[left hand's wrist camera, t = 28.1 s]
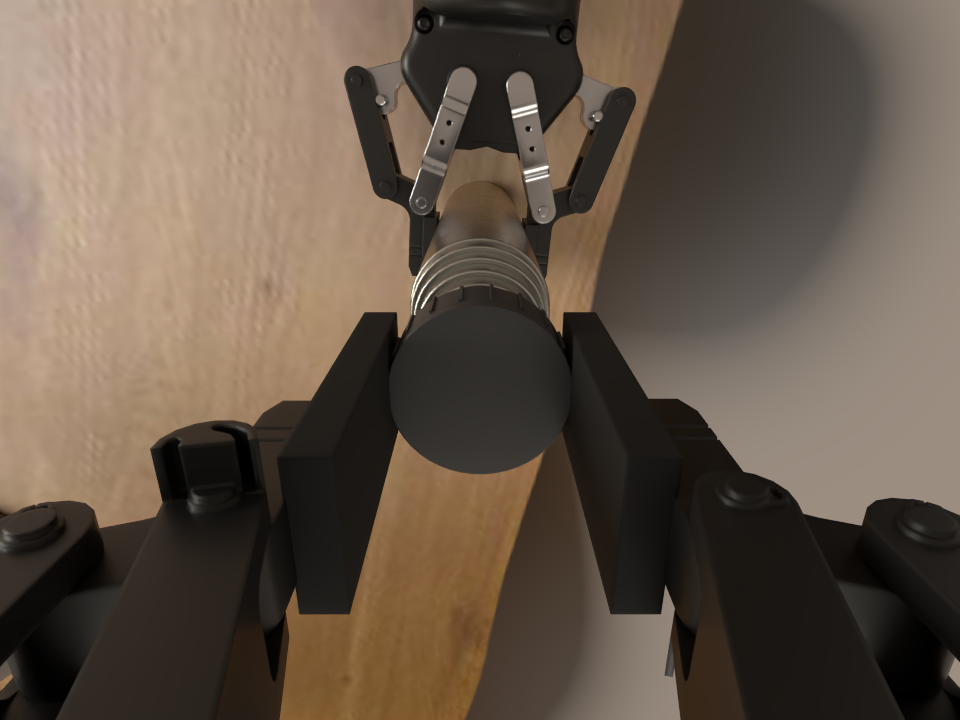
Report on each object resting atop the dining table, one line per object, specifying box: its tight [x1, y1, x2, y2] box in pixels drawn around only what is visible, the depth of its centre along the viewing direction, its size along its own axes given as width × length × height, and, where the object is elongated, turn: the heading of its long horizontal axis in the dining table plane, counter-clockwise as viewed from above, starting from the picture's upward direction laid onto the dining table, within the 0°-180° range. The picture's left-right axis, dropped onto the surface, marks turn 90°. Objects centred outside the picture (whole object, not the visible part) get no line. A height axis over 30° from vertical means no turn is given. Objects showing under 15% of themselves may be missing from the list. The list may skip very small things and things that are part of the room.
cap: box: [389, 284, 572, 474], centre depth 14 cm, size 4×4×2 cm
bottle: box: [410, 181, 550, 319], centre depth 25 cm, size 4×4×25 cm
